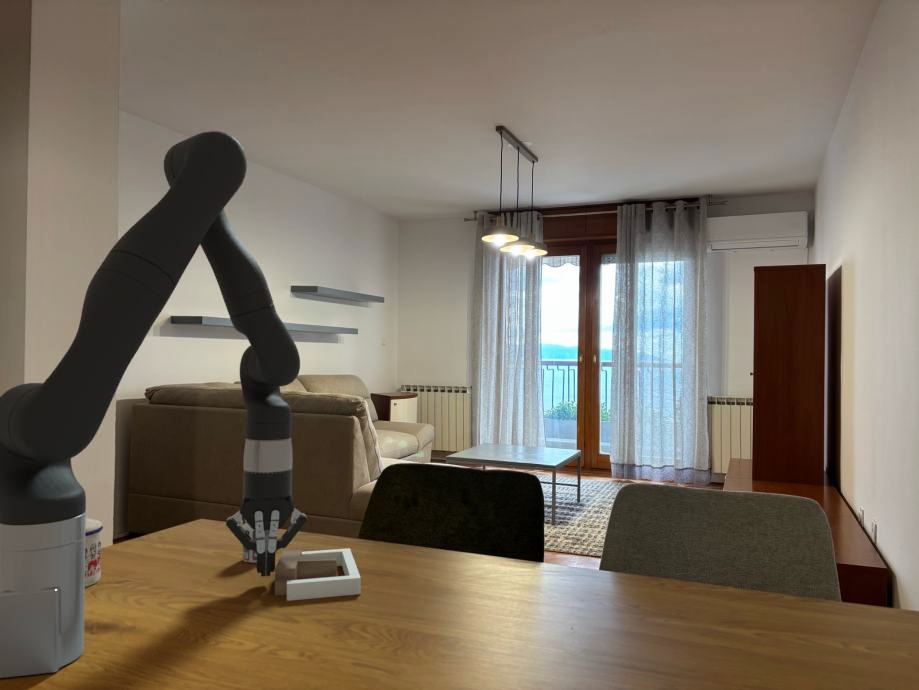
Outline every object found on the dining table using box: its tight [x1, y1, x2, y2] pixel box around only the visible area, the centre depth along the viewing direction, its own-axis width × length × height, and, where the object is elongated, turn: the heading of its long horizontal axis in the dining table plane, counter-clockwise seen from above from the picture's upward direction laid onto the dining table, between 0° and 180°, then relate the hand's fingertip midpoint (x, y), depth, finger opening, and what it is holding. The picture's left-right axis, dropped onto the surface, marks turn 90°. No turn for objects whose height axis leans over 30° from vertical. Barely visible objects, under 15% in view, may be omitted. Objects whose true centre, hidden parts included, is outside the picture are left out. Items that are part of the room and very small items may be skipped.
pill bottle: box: [242, 519, 270, 564], centre depth 119 cm, size 5×5×8 cm
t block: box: [274, 548, 338, 596], centre depth 107 cm, size 10×9×4 cm
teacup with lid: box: [85, 517, 104, 588], centre depth 108 cm, size 12×9×12 cm
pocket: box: [286, 547, 362, 602], centre depth 109 cm, size 16×11×2 cm
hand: (265, 574), depth 106 cm, fingers closed
